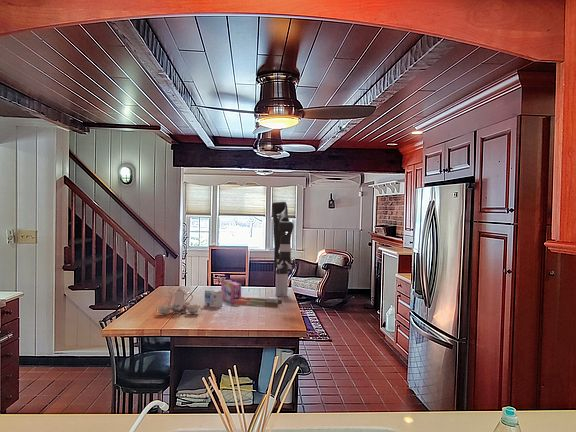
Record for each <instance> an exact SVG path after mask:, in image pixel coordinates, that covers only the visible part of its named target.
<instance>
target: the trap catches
mask: <svg viewBox="0 0 576 432" xmlns="http://www.w3.org/2000/svg"><path fill="white" fill-rule="evenodd" d="M251 298H252V297H246V296H241V297H240V300H236V299H235V302H234V304H241V306H246V304H247V300H250V301H251Z"/></svg>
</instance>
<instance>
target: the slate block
mask: <svg viewBox="0 0 576 432" xmlns="http://www.w3.org/2000/svg"><path fill="white" fill-rule="evenodd" d="M266 299H267V302H278V300H279V296H269V297H267V298H266Z"/></svg>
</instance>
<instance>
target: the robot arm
mask: <svg viewBox="0 0 576 432" xmlns="http://www.w3.org/2000/svg"><path fill="white" fill-rule="evenodd" d="M288 210H289V209H288V204H287V202H286V201H284V200H283V201H282V200H281V201H273V202H272V204H271V211H272V222H273V223H272V224H273V242H274V247H273V248H274V249H273V250H274V251H273V253H274V254H273V255H274V257H273V259H274V268H275V269H276V270H275V297H287V296H288V289H289V287H288V285H289V284H288V283H289V282H288V280H289V278H288V277H289V275H290V276H292V275H293V274H294V272H293V271H294V269H296V259H291V257H292V253H291V251H292V250H291V249H292V248H291V246H292V245H291V244H292V243H291V239H292V233H293V231H294V223H293V221H290V218H289V214H288V213H289V211H288Z"/></svg>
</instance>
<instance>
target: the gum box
mask: <svg viewBox="0 0 576 432" xmlns="http://www.w3.org/2000/svg"><path fill="white" fill-rule="evenodd" d="M220 283H221V284H220V285H221V287H220V288H221V289H220V290H222V291H223V293H222V299H223V300H225V301H227V302H230V303H232V304H233V303H235V299H236V300H240V297H242V282H239V281H237V280H235V279H232V278H226V279H223V278H222V279H221V281H220Z"/></svg>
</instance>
